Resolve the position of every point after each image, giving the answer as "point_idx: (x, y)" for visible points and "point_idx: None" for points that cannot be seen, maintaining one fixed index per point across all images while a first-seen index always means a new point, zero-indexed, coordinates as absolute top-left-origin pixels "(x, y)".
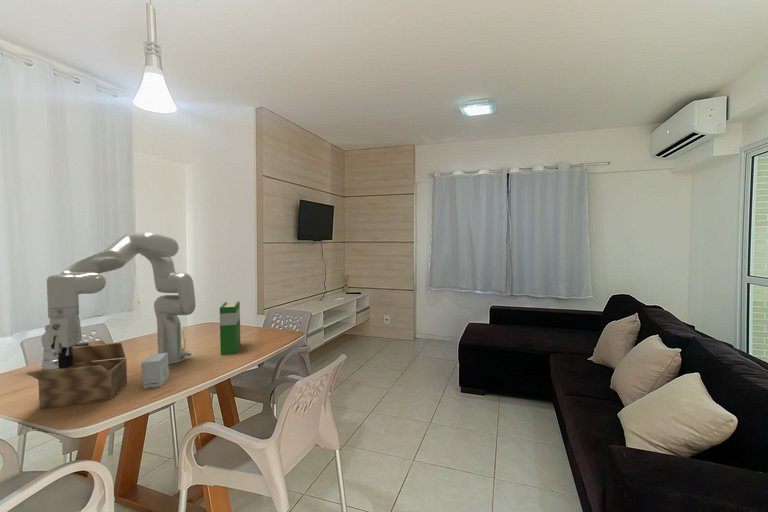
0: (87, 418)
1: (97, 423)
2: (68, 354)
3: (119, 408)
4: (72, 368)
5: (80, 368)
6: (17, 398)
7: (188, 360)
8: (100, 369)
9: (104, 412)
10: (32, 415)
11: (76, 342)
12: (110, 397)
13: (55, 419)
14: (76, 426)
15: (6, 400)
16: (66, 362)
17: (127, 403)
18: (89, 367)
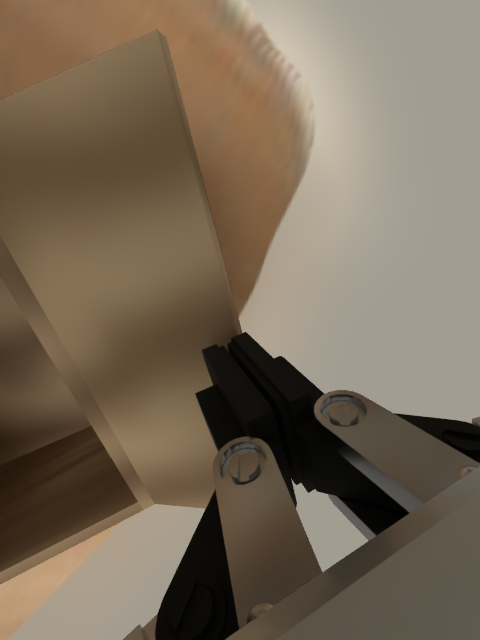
0: (233, 145)
1: (281, 62)
2: (337, 405)
3: (139, 28)
4: (234, 312)
5: (217, 251)
6: (53, 561)
7: None
8: (75, 122)
9: (182, 95)
10: None
11: (409, 600)
12: None
13: (228, 274)
14: (290, 145)
15: (73, 571)
16: (290, 366)
17: (70, 6)
18: (197, 169)
